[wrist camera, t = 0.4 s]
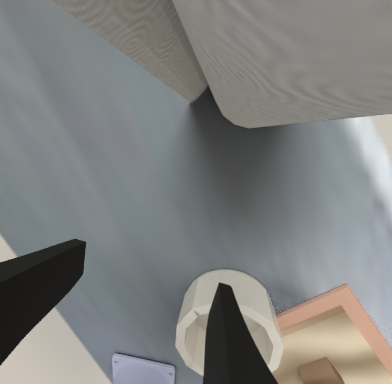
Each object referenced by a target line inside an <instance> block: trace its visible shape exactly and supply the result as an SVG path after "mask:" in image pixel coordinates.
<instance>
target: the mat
mask: <svg viewBox="0 0 392 384" xmlns="http://www.w3.org/2000/svg"><path fill="white" fill-rule="evenodd" d="M340 305H341V306H342V307H343V309H344V310H345V311H346V313H347V314H348V316H349V317H350V318H351V320H352V321H353V323H354V324H355V325H356V327H357V328H358V330H359V331H360V333H361V334H362V335H363V337H364V338H365V340H366V341H367V342H368V344H369V345H370V347H371V348H372V349H373V351H374V352H375V354H376V355H377V357H378V358H379V359H380V361H381V362H382V364H383V365H384V366H385V368H386V369H387V371H388V372H389V374H390V375H391V376H392V349H391V347H390V346H389V344H388V343H387V342H386V340H385V339H384V337H383V336H382V334H381V333H380V331H379V330H378V329H377V327H376V326H375V324H374V323H373V321H372V320H371V318H370V317H369V315H368V314H367V313H366V311H365V310H364V308H363V307H362V305H361V304H360V302H359V301H358V300H357V298H356V297H355V295H354V294H353V292H352V291H351V289H350V288H349V287H348V285H347V284H345V285H342V286H340V287H338V288H336V289H333V290H331V291H329V292H327V293H324V294H322V295H320V296H317V297H315V298H313V299H311V300H308V301H306V302H304V303H302V304H299V305H297V306H295V307H293V308H290V309H288V310H286V311H283V312H281V313H279V314H277V315H276V317H277V321H278V325H279V328H280V330H282V329H285V328H287V327H289V326H292V325H294V324H297V323H299V322H301V321H304V320H306V319H309V318H311V317H313V316H316V315H318V314H321V313H323V312H325V311H328V310H330V309H333V308H335V307H337V306H340Z"/></svg>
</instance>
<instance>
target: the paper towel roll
mask: <svg viewBox="0 0 392 384" xmlns="http://www.w3.org/2000/svg"><path fill="white" fill-rule="evenodd" d="M53 1H54V2H56V3H57V4H58V5H60V6H61V7H62V8H64V9H65V10H66V11H68V12H69V13H70V14H72V15H73V16H75V17H76V18H77V19H79V20H80V21H81V22H83V23H84V24H85V25H87V26H88V27H89V28H91V29H92V30H93V31H95V32H96V33H97V34H99V35H100V36H101V37H103V38H104V39H106V40H107V41H108V42H110V43H111V44H112V45H114V46H115V47H116V48H118V49H119V50H120V51H122V52H123V53H124V54H126V55H127V56H128V57H130V58H131V59H132V60H134V61H135V62H137V63H138V64H139V65H141V66H142V67H143V68H145V69H146V70H147V71H149V72H150V73H151V74H153V75H154V76H155V77H157V78H158V79H159V80H161V81H162V82H163V83H165V84H166V85H168V86H169V87H170V88H172V89H173V90H174V91H176V92H177V93H178V94H180V95H181V96H182V97H184V98H185V99H186V100H188V101H189V102H190V101H191V100H193V99H194V98H196V97H197V96H198V95H199V94H200V93H201V92H202V90H203V89H204V88H205V87H206V85H207V83H208V85H209V87H210V90H211V92H212V94H213V97H214V99H215V101H216V103H217V105H218V107H219V109H220V111H221V113H222V115H223V116H224V117H226V118H227V119H228V120H229V121H231V122H232V123H233V124H234V125H238V126H241V127H245V128H258V127H267V126H277V125H287V124H296V123H306V122H316V121H326V120H335V119H345V118H355V117H365V116H374V115H383V114H392V0H53Z"/></svg>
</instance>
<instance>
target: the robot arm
mask: <svg viewBox="0 0 392 384" xmlns="http://www.w3.org/2000/svg"><path fill="white" fill-rule="evenodd" d="M85 249H86V242H84V241H81V240H78V239H73V240H69V241H66V242H63V243H60V244H57V245H54V246H51V247H48V248H45V249H42V250H39V251H36V252H33V253H30V254H27V255H24V256H20V257H17V258H14V259H11V260H7V261H4V262H0V365H1V364H2V363H3V362H4V361H5V359H6V358H7V357H8V356H9V354H10V353H11V352H12V351H13V350H14V349H15V347H16V346H17V345H18V344H19V343H20V341H21V340H22V339H23V338H24V337H25V336H26V335H27V334H28V333H29V332H30V331H31V330H32V329H33V327H35V326H36V324H38V323H39V322H40V321H41V320H42V319H43V318H44V317H45V316H46V315H47V314H48V313H49V312H50V311H51V310H52V309H53V308H54V307H55V306H56V305H57V304H58V303H59V302H60V301H61V300H62V299H63V298H64V297H65V295H66V294H67V293H68V292H69V291H70V290H71V289H72V288H73V286H74V285H75V284H76V283H77V281H78V280H79V279H80V277H81V276H82V275H83V270H84V259H85ZM112 367H113V383H112V384H174V381H175V367H174V366H172V365H168V364H164V363H159V362H154V361H150V360H145V359H141V358H136V357H131V356H127V355H122V354H117V353H115V354H114V355H113V357H112ZM203 384H278V382H277V381H276V379H275V378H274V376H273V374H272V373H271V371H270V369H269V368H268V366H267V364H266V362H265V361H264V359H263V357H262V355H261V354H260V352H259V350H258V348H257V346H256V344H255V342H254V340H253V338H252V336H251V334H250V332H249V329H248V327H247V325H246V323H245V320H244V318H243V316H242V313H241V311H240V308H239V306H238V303H237V300H236V298H235V295H234V292H233V289H232V287H231V286H230V285H227V284H224V283H220V282H219V284H218V287H217V290H216V293H215V296H214V299H213V302H212V305H211V308H210V311H209V315H208V321H207V328H206V335H205V355H204V376H203Z"/></svg>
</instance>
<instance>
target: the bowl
mask: <svg viewBox="0 0 392 384" xmlns="http://www.w3.org/2000/svg"><path fill="white" fill-rule="evenodd" d="M219 282H220V283H224V284H227V285H230V286H231V287H232V289H233V292H234V295H235V298H236V300H237V303H238V306H239V308H240V311H241V313H242V316H243V318H244V320H245V323H246V325H247V327H248V329H249V332H250V334H251V336H252V338H253V340H254V342H255V344H256V346H257V348H258V350H259V352H260V354H261V355H262V357H263V359H264V361H265V362H266V364H267V366H268V368H269V369H270V371H271V373H272V372H273V371H275V370H276V369H277V368H278V367H279V364H280V360H281V356H282V352H283V349H284V344H283V340H282V336H281V332H280V328H279V325H278V321H277V317H276V313H275V309H274V307H273V304H272V302H271V299H270V296H269V294H268V292H267V290H266V289H265V287H264V286H263V285H262V284H261V283H260V282H259V281H258V280H257V279H255V278H254V277H252V276H251V275H249V274H247V273H244V272H241V271H238V270H234V269H216V270H211V271H208V272H206V273H204V274H202V275H200V276H199V277H197V278H196V279H195V280H194V281H193V282H192V283H191V285H190V286H189V288H188V290H187V292H186V293H185V296H184V300H183V304H182V308H181V312H180V315H179V319H178V323H177V330H176V344H175V347H176V348H177V350H178V352H179V353H180V355H181V357H182V358H183V360H184V362H185V364H186V365H187V366H188V367H189V368H191V369H192V370H194V371H195V372H197V373H198V374H200V375H201V376H204V355H205V335H206V328H207V321H208V315H209V311H210V308H211V305H212V302H213V299H214V296H215V293H216V290H217V287H218V284H219Z"/></svg>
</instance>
